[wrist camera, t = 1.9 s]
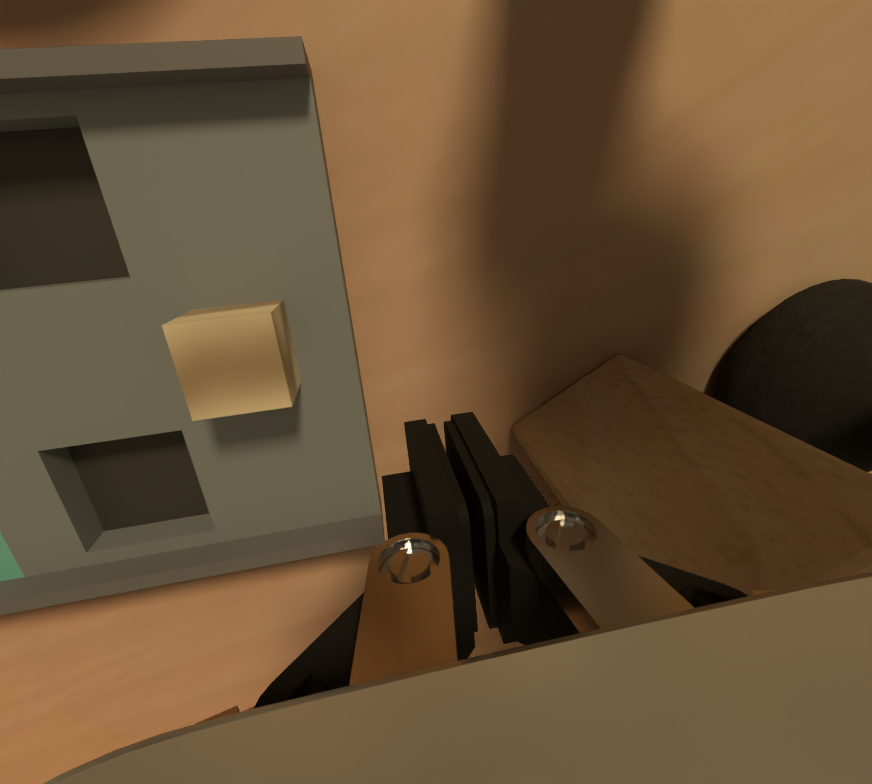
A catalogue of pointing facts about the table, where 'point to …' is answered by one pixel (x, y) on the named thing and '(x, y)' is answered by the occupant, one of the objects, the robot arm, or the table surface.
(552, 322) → the table surface
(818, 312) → the candelabra
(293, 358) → the block
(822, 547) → the wooden block
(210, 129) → the board
